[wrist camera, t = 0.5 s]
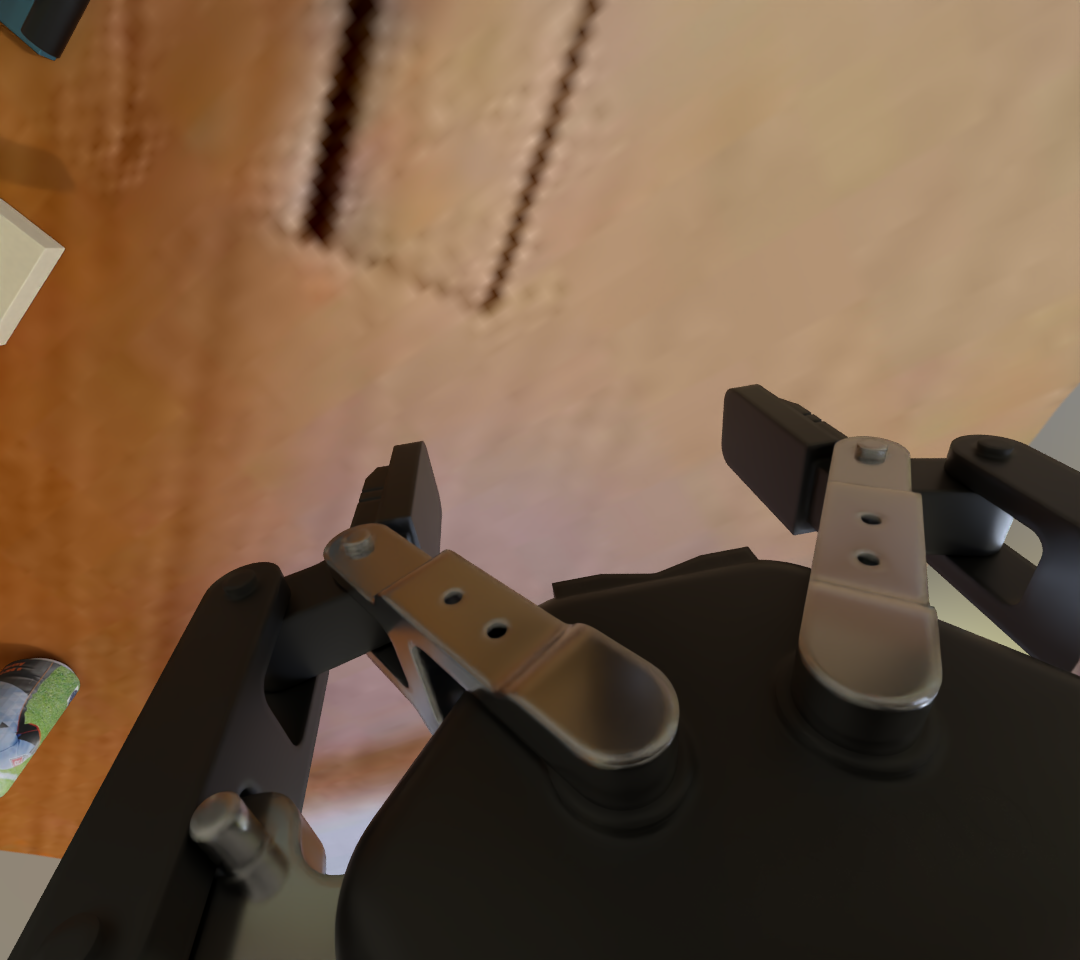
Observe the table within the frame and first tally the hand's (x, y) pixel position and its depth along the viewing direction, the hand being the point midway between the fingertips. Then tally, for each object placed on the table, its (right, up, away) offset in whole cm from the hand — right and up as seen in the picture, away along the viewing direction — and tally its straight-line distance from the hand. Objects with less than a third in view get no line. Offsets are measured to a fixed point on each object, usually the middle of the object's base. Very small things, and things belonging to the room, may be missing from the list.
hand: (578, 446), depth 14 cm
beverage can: (-47, -20, +36) cm, 63 cm away
